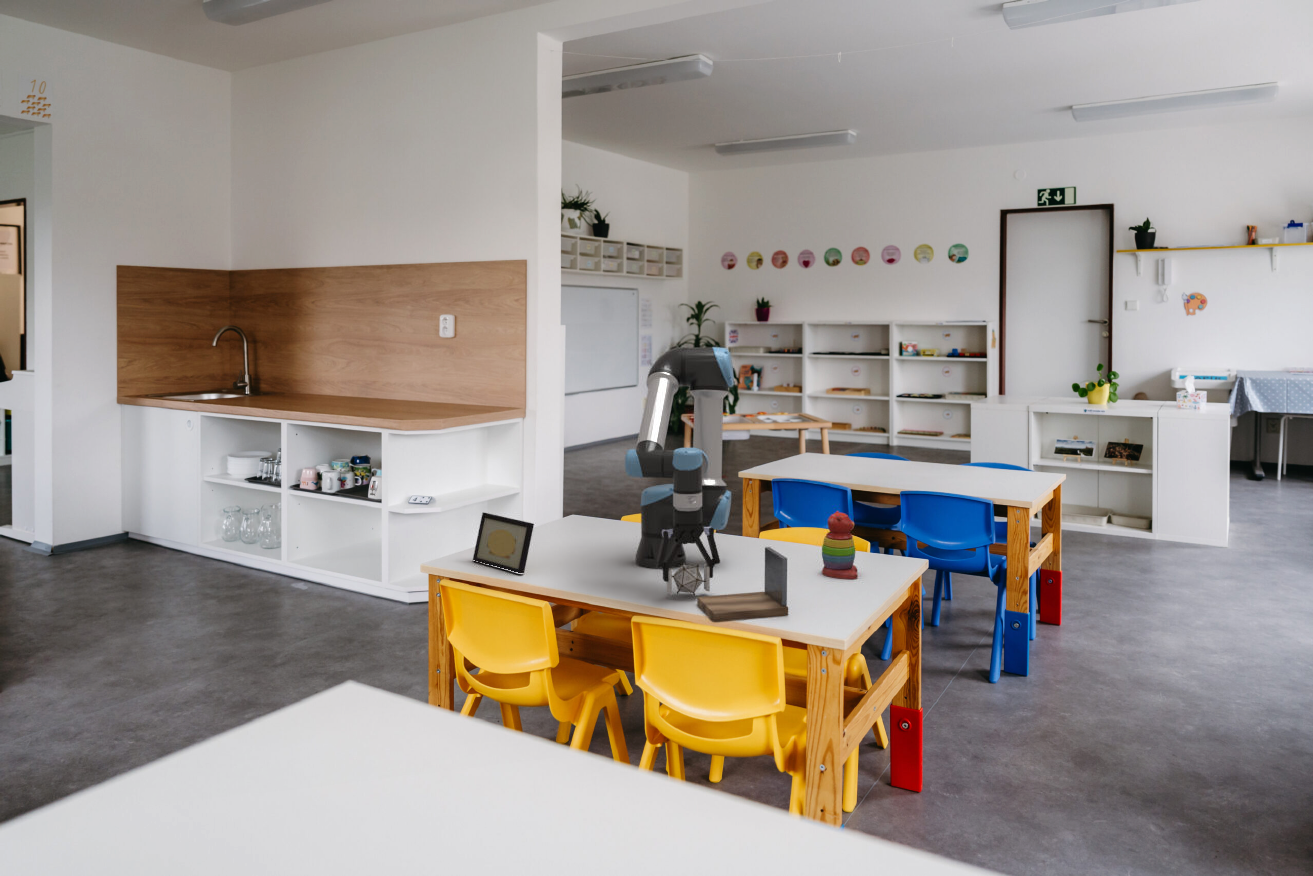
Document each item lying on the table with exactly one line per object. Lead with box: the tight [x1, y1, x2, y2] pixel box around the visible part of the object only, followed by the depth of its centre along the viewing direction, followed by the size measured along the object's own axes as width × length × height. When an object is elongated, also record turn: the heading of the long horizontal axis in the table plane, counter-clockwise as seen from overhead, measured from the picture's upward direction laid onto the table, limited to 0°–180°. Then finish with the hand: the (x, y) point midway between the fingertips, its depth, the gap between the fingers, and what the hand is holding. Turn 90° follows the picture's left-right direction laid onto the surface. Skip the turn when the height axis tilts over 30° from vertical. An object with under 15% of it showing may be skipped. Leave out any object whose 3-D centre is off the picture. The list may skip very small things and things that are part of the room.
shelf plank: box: [696, 591, 789, 623], centre depth 225 cm, size 14×19×2 cm
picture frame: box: [472, 512, 535, 574], centre depth 268 cm, size 23×9×15 cm, turn 47°
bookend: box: [764, 546, 788, 607], centre depth 226 cm, size 12×1×12 cm, turn 14°
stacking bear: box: [821, 510, 859, 580], centre depth 256 cm, size 11×10×18 cm
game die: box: [672, 562, 706, 597], centre depth 236 cm, size 9×8×10 cm
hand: (688, 591), depth 237 cm, fingers closed on game die, 9 cm apart
